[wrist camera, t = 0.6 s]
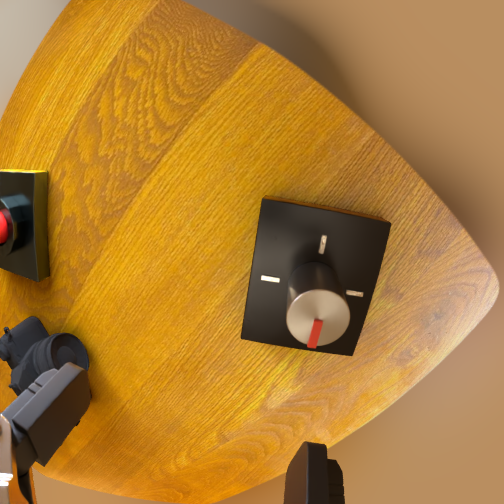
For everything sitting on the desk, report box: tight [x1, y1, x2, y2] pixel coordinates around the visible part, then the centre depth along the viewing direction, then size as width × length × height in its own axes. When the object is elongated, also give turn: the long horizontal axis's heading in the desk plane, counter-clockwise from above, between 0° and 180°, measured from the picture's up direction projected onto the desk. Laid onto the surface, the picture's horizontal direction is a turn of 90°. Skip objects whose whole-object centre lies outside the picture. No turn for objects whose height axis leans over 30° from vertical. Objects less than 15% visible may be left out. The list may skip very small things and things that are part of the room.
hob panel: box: [241, 195, 391, 356], centre depth 25 cm, size 12×10×3 cm
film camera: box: [0, 316, 92, 426], centre depth 29 cm, size 15×10×9 cm, turn 28°
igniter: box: [0, 169, 50, 282], centre depth 27 cm, size 12×10×4 cm
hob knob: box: [286, 262, 350, 348], centre depth 21 cm, size 4×4×6 cm
